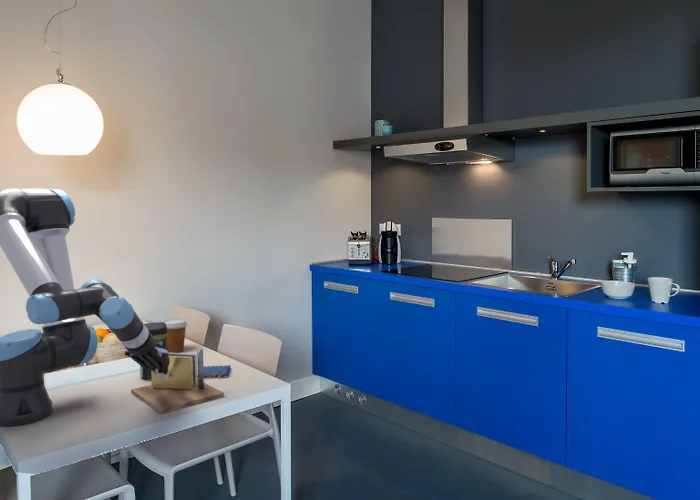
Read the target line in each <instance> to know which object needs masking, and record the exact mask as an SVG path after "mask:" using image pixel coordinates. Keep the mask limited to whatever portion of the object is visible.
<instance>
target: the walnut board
mask: <svg viewBox="0 0 700 500" xmlns="http://www.w3.org/2000/svg"><path fill="white" fill-rule="evenodd" d="M197 383H198V378H197ZM130 392H131V394H132V395H133V396H135V397H136V398H138V399H139V400H140V401H142V402H143V403H144V404H146V405H147V406H149V407H150V408H152V409H153V410H154V411H156V412H158V413H159V414H165V413H169V412H171V411H176V410H178V409H182V408H186V407H190V406H194V405H198V404H202V403H205V402H208V401H212V400H216V399H219V398H223V397H224V396H225V394H224V391H221V390H220V389H217V388H215V387H213V386H212V385H210V384H207V383H206V382H204V389H202V390H199V389H198V386H197V387H193V389H174V388H152V384H150V385H149V384H148V385H145V386H140V387H136V388H132V389H130Z"/></svg>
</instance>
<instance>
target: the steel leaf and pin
mask: <svg viewBox="0 0 700 500" xmlns="http://www.w3.org/2000/svg"><path fill="white" fill-rule="evenodd" d="M167 353H168V356H188V357H192V359H193V387H197V386H198V389H199V390H202V389H204V383H205V378H204V366H205V365H204V350H203V349H201V348H200V349H197V350H196V353H194V354H193V353H181V352H179V353H170V352H167ZM158 354H159V353H158ZM159 355H160V354H159ZM197 376H198V377H197ZM197 379H198V383H197Z"/></svg>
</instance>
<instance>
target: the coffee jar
mask: <svg viewBox="0 0 700 500" xmlns="http://www.w3.org/2000/svg"><path fill="white" fill-rule="evenodd" d="M144 325H145V326H146V327H147V329H148V330H149V332H150V333H151V335H152V336H153V338H154V342H155V344H157V345H158V346H159V348H161V349H162V348H163V349H164V348H165V347H166V339H167V336H168V331H167V327H166V324H165V322H163V321H158V322H157V321H156V322H148V323H147V322H146V323H144ZM157 353H158V352H157ZM145 364H146V363H145ZM139 376H140V379H142V380H152V378H151V369H150V368H148V369H147V370H146V369H144V368H143V367H142V366H140V365H139Z"/></svg>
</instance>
